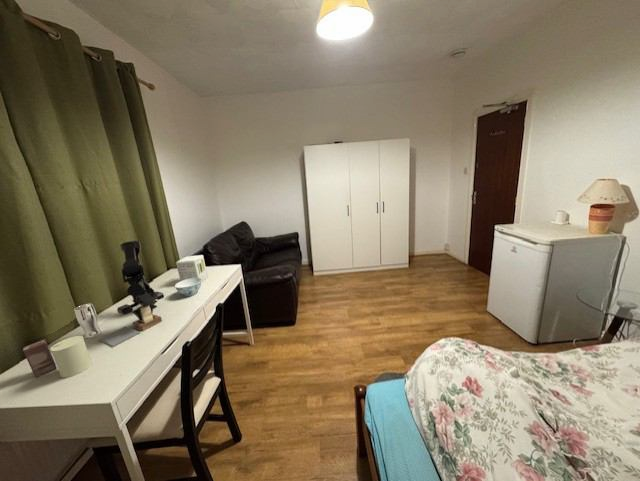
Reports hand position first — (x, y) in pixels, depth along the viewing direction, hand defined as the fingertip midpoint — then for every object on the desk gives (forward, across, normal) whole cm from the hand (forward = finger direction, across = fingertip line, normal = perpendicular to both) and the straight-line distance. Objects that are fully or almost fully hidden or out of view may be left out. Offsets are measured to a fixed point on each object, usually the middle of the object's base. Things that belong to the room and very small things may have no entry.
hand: (146, 318), depth 127 cm
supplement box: (+4, +47, +29) cm, 55 cm away
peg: (+4, 0, 0) cm, 4 cm away
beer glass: (+4, -16, +18) cm, 24 cm away
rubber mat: (+4, -12, +2) cm, 12 cm away
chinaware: (+4, +32, +12) cm, 34 cm away
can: (+4, -30, -7) cm, 31 cm away
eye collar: (+4, 0, 0) cm, 4 cm away
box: (+4, -36, +4) cm, 36 cm away
